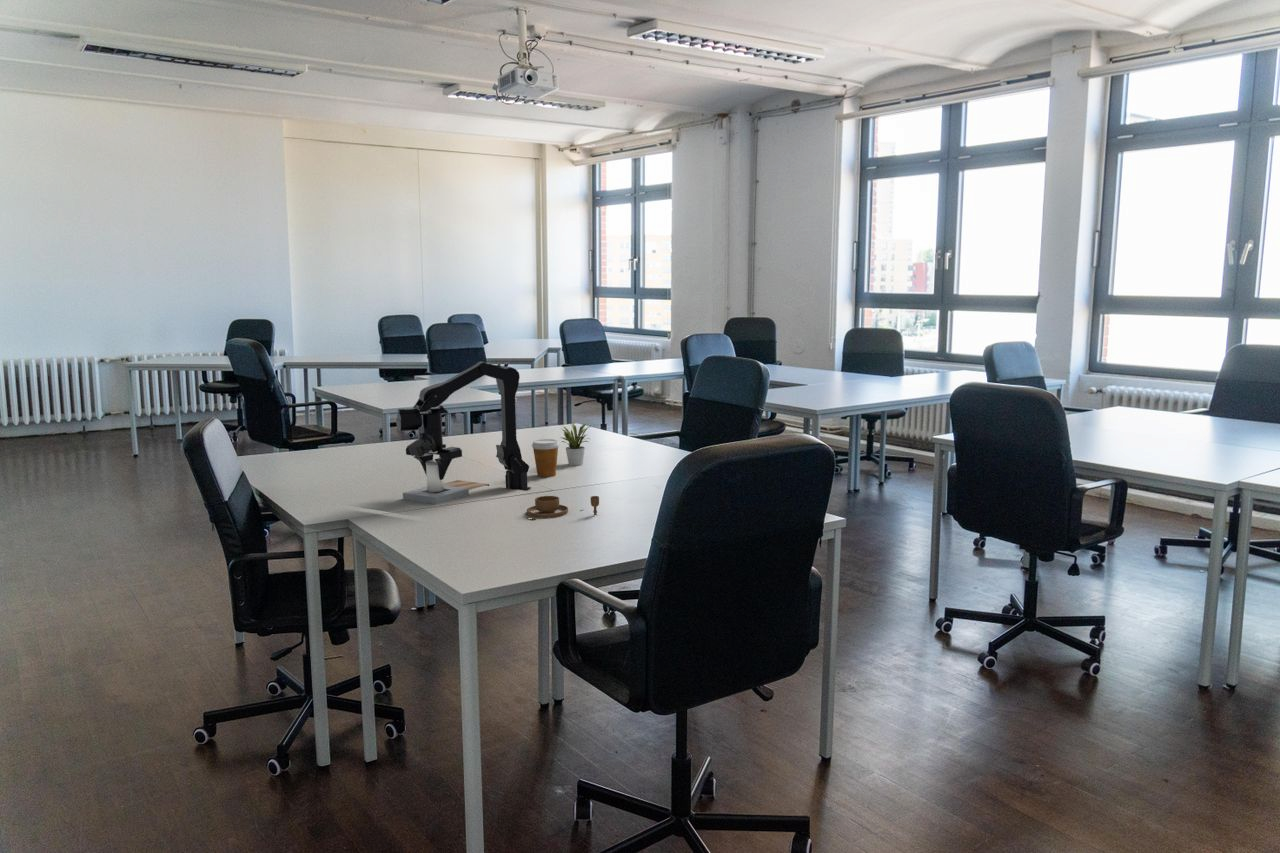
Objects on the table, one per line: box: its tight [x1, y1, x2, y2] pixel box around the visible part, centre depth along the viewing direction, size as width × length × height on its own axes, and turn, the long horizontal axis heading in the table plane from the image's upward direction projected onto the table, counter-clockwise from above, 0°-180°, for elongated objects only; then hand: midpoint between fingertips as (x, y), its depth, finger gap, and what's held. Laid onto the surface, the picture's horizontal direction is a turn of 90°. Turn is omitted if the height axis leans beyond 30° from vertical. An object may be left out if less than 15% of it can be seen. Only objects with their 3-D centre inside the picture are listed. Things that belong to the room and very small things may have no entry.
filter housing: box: [402, 485, 470, 505], centre depth 280 cm, size 14×14×3 cm
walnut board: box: [444, 479, 490, 491], centre depth 295 cm, size 14×14×1 cm
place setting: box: [524, 495, 600, 521], centre depth 258 cm, size 18×20×6 cm
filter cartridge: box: [425, 459, 445, 492], centre depth 279 cm, size 5×5×9 cm
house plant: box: [559, 422, 596, 466], centre depth 333 cm, size 14×14×16 cm
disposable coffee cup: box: [531, 438, 560, 478], centre depth 314 cm, size 10×10×12 cm
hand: (435, 478), depth 279 cm, fingers closed on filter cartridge, 5 cm apart
